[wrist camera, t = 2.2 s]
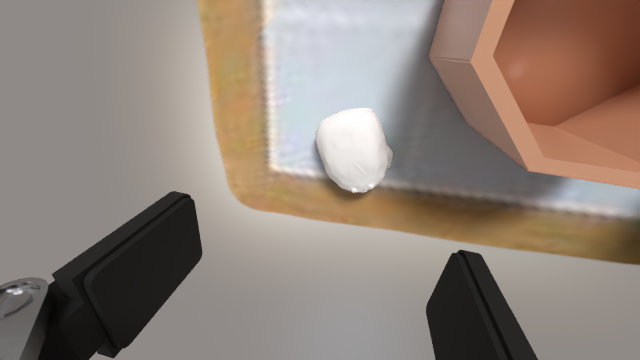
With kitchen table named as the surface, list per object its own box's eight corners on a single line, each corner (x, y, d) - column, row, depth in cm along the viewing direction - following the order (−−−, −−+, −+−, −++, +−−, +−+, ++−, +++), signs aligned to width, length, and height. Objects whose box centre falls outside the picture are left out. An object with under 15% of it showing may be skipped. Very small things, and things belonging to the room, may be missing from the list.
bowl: (810, -146, 13) (1764, -577, 4) (608, 143, 20) (786, 214, 11) (485, -153, 15) (653, -456, 6) (411, 114, 22) (435, 156, 13)
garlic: (398, 174, 25) (402, 193, 22) (335, 188, 27) (330, 207, 24) (378, 95, 22) (379, 103, 19) (309, 118, 24) (299, 129, 21)
